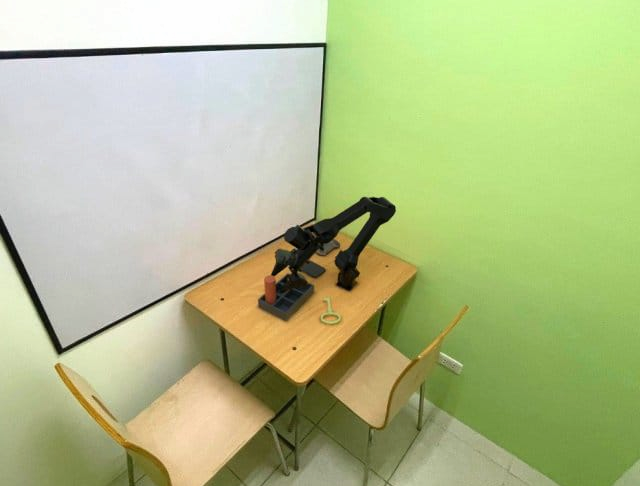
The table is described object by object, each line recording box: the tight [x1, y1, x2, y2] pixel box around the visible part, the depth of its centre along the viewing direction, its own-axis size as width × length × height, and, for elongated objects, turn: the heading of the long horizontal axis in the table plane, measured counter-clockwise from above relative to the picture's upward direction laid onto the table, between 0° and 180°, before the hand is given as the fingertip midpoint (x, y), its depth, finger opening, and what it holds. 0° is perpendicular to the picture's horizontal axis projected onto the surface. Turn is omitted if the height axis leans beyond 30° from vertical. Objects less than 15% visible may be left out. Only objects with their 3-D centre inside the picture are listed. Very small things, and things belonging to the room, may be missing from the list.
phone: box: [301, 259, 326, 279], centre depth 158 cm, size 7×1×15 cm
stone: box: [315, 238, 341, 256], centre depth 168 cm, size 12×5×10 cm
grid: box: [257, 272, 315, 322], centre depth 141 cm, size 13×19×4 cm
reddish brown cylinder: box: [263, 274, 277, 305], centre depth 135 cm, size 4×4×12 cm
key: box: [320, 296, 342, 325], centre depth 137 cm, size 7×12×2 cm, turn 23°
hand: (275, 284), depth 134 cm, fingers open, 9 cm apart
